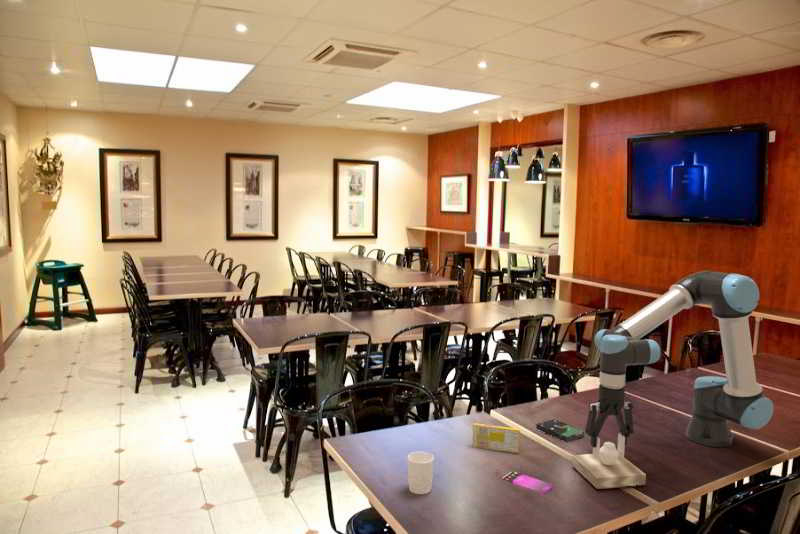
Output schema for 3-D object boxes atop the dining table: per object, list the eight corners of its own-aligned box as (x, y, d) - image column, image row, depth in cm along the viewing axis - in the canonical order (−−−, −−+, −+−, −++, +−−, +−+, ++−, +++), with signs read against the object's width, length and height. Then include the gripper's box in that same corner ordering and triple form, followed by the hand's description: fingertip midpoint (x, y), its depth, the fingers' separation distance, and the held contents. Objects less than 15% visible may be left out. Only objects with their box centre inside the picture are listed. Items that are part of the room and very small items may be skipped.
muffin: (613, 468, 176) (615, 446, 176) (594, 462, 180) (596, 440, 180) (621, 464, 181) (623, 442, 180) (602, 458, 185) (604, 437, 185)
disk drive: (535, 431, 219) (566, 444, 206) (535, 424, 218) (566, 436, 206) (553, 425, 224) (585, 437, 212) (554, 418, 224) (585, 430, 212)
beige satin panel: (616, 463, 190) (617, 452, 190) (645, 487, 174) (645, 474, 174) (571, 466, 187) (572, 455, 187) (596, 490, 172) (597, 478, 171)
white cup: (405, 483, 175) (406, 451, 174) (431, 482, 176) (431, 451, 175) (408, 496, 167) (408, 463, 166) (435, 495, 168) (435, 462, 167)
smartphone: (511, 472, 184) (511, 470, 184) (555, 486, 175) (555, 484, 175) (500, 480, 179) (500, 478, 179) (544, 495, 169) (544, 492, 169)
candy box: (519, 451, 199) (520, 428, 198) (518, 454, 197) (519, 430, 196) (473, 444, 204) (473, 422, 203) (472, 447, 202) (472, 424, 201)
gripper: (635, 380, 183) (631, 448, 186) (575, 382, 180) (572, 452, 182) (649, 387, 176) (645, 458, 178) (586, 390, 172) (583, 463, 175)
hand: (608, 455), depth 180 cm, fingers open, 8 cm apart
